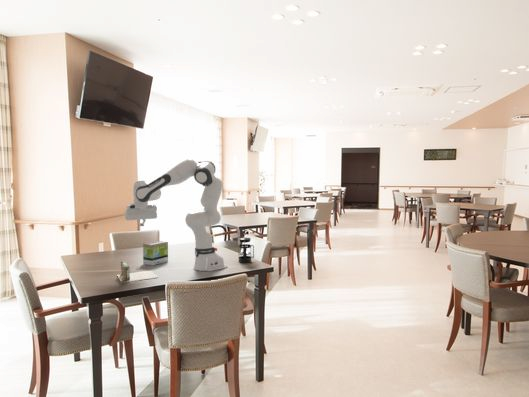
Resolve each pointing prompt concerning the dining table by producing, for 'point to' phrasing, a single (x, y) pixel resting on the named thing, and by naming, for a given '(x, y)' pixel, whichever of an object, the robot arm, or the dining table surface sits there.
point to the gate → (126, 270)
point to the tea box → (155, 253)
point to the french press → (245, 258)
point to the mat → (140, 276)
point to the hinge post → (121, 268)
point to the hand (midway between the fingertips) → (141, 226)
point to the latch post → (124, 275)
